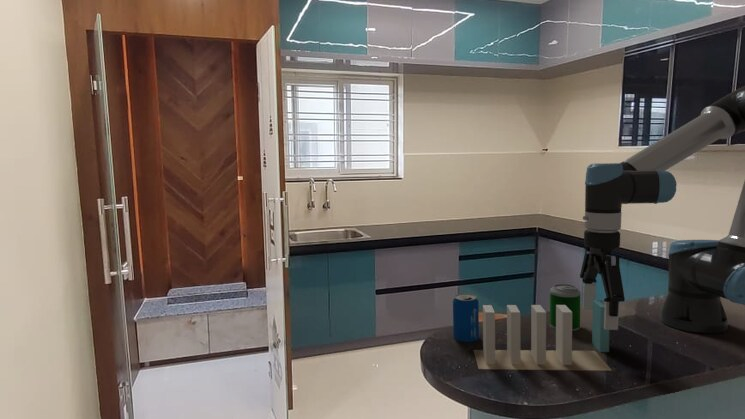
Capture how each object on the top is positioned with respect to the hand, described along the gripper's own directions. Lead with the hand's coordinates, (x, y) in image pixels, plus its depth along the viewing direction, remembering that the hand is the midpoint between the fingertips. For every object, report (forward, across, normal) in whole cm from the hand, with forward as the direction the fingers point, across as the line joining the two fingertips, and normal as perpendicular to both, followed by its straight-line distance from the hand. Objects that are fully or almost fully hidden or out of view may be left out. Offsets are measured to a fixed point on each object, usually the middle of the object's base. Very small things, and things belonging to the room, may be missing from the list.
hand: (599, 318), depth 107 cm
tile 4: (+8, +7, -21) cm, 23 cm away
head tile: (+8, 0, +1) cm, 8 cm away
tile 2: (+7, +7, -10) cm, 14 cm away
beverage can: (+9, -6, -30) cm, 32 cm away
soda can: (+9, -14, -3) cm, 17 cm away
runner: (+9, +7, -15) cm, 19 cm away
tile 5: (+8, +7, -26) cm, 28 cm away
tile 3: (+7, +7, -16) cm, 19 cm away
